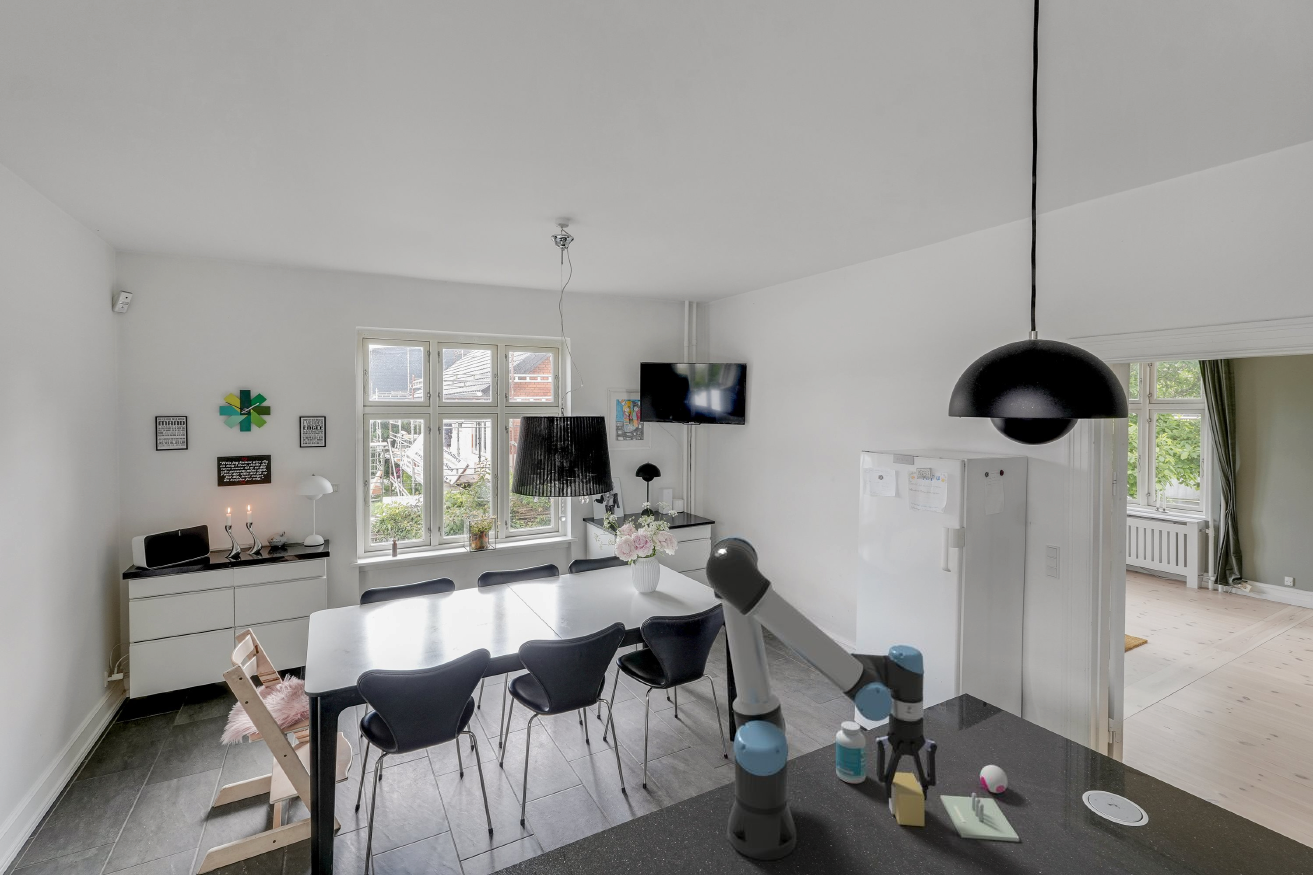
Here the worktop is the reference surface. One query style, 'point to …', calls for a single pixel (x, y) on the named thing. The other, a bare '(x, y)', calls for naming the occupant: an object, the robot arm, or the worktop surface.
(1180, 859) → the worktop surface
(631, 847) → the worktop surface
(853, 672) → the robot arm
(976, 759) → the worktop surface
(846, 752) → the pill bottle
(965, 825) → the board
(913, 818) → the tan yellow block
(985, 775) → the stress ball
